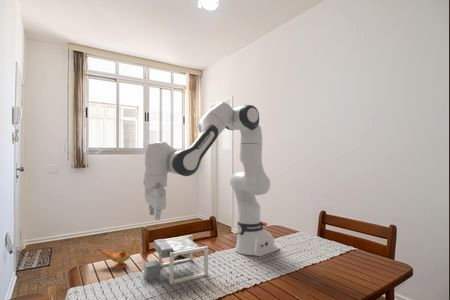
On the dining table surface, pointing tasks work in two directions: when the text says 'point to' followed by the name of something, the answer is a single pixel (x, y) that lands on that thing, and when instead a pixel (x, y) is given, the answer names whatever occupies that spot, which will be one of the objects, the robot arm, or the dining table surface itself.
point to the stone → (151, 270)
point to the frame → (185, 261)
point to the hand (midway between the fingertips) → (154, 217)
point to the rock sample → (184, 255)
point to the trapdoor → (173, 246)
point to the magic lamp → (119, 256)
